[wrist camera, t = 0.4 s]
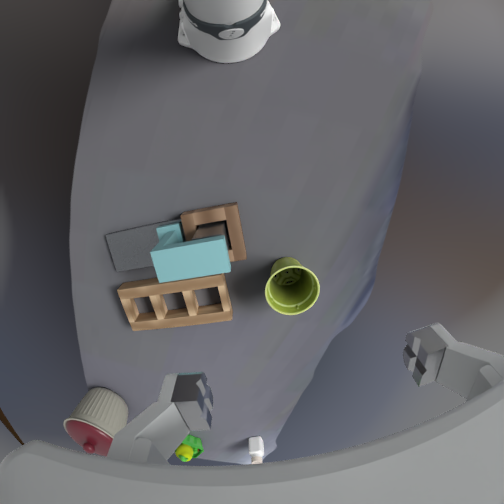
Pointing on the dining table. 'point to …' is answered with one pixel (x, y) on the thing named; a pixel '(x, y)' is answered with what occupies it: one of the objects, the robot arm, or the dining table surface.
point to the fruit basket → (189, 448)
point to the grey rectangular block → (212, 231)
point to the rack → (177, 316)
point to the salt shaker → (256, 449)
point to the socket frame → (146, 238)
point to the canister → (97, 420)
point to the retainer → (188, 255)
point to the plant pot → (291, 287)
